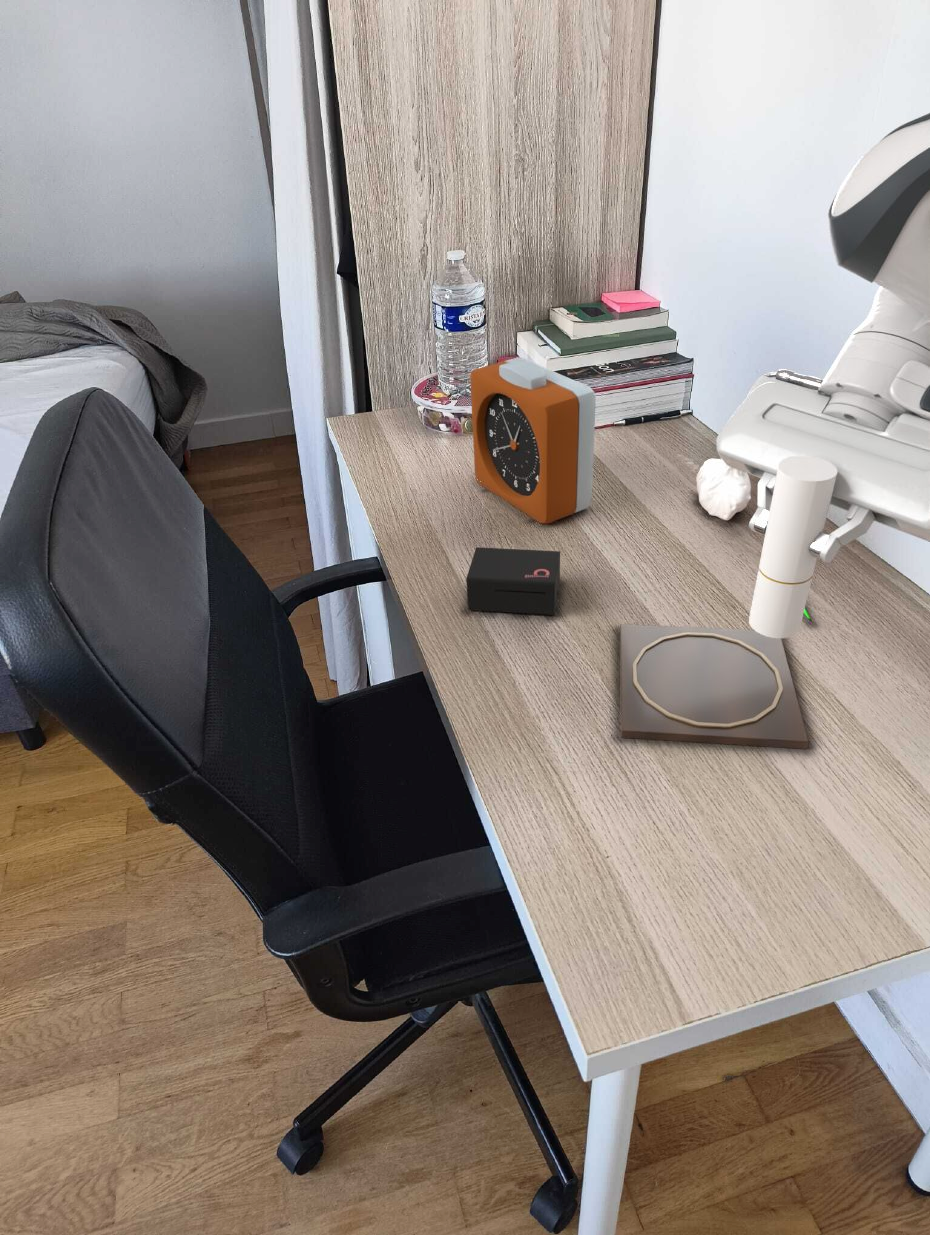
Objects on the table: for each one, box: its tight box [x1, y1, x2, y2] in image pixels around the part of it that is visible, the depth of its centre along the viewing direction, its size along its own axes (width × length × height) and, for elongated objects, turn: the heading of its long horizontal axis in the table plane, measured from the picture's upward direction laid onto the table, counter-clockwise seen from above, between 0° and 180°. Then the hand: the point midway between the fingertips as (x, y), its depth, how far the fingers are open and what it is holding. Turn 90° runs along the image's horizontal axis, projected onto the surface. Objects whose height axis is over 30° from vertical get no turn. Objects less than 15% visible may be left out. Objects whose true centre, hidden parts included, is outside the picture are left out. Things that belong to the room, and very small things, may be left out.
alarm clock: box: [469, 356, 597, 524], centre depth 121 cm, size 18×9×21 cm, turn 33°
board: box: [619, 623, 810, 750], centre depth 90 cm, size 18×18×1 cm
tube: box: [748, 456, 837, 639], centre depth 69 cm, size 4×4×15 cm
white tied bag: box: [695, 456, 752, 521], centre depth 119 cm, size 12×8×11 cm
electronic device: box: [466, 546, 561, 616], centre depth 104 cm, size 7×11×5 cm
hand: (787, 544), depth 68 cm, fingers closed on tube, 4 cm apart
